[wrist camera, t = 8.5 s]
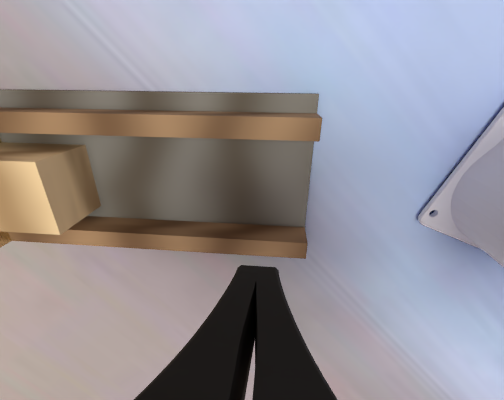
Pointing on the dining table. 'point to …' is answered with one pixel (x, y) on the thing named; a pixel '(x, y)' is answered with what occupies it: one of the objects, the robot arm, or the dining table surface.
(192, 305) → the dining table surface
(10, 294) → the dining table surface
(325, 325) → the dining table surface
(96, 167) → the channel
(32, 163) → the block
